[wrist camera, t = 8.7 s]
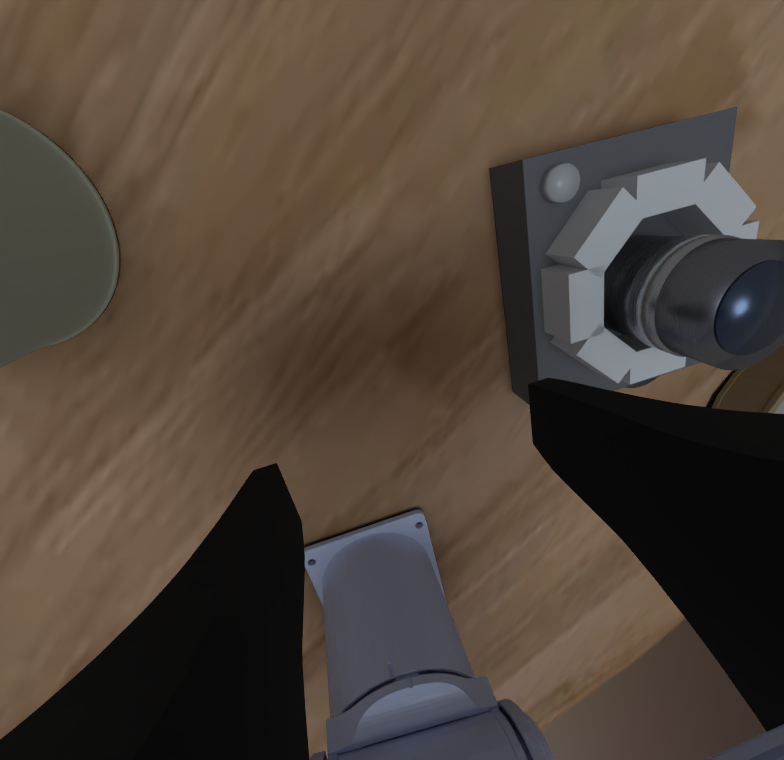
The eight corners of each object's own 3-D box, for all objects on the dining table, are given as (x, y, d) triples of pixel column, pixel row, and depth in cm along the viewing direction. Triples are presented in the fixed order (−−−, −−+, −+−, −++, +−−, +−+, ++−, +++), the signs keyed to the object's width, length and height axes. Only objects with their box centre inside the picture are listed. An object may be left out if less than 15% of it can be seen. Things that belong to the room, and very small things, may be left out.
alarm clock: (898, 408, 28) (774, 580, 28) (807, 390, 32) (700, 537, 32) (856, 310, 23) (708, 515, 23) (757, 305, 28) (633, 476, 28)
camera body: (660, 345, 24) (742, 373, 20) (512, 391, 23) (564, 433, 19) (676, 122, 19) (790, 93, 15) (489, 168, 18) (551, 151, 14)
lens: (684, 247, 19) (846, 258, 13) (639, 339, 20) (767, 384, 14) (607, 219, 17) (750, 218, 12) (565, 319, 19) (675, 360, 13)
